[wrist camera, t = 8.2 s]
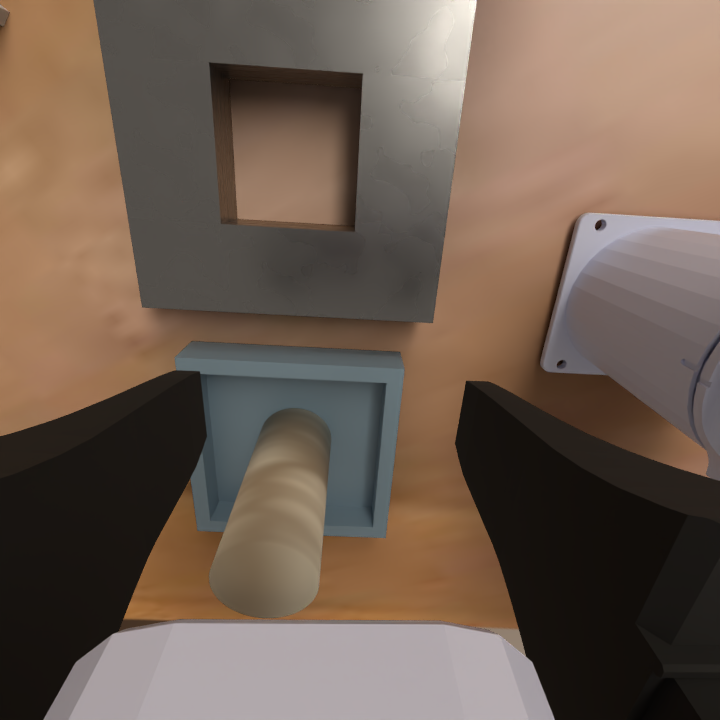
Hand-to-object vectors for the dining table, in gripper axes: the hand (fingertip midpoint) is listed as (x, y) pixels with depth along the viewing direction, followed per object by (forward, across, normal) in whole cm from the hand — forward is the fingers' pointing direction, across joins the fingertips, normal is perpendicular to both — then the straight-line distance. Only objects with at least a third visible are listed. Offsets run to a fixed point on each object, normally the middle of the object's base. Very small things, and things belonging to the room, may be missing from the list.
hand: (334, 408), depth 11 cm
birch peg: (+10, +2, +8) cm, 13 cm away
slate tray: (+10, +2, +8) cm, 13 cm away
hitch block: (+10, +2, -7) cm, 13 cm away
